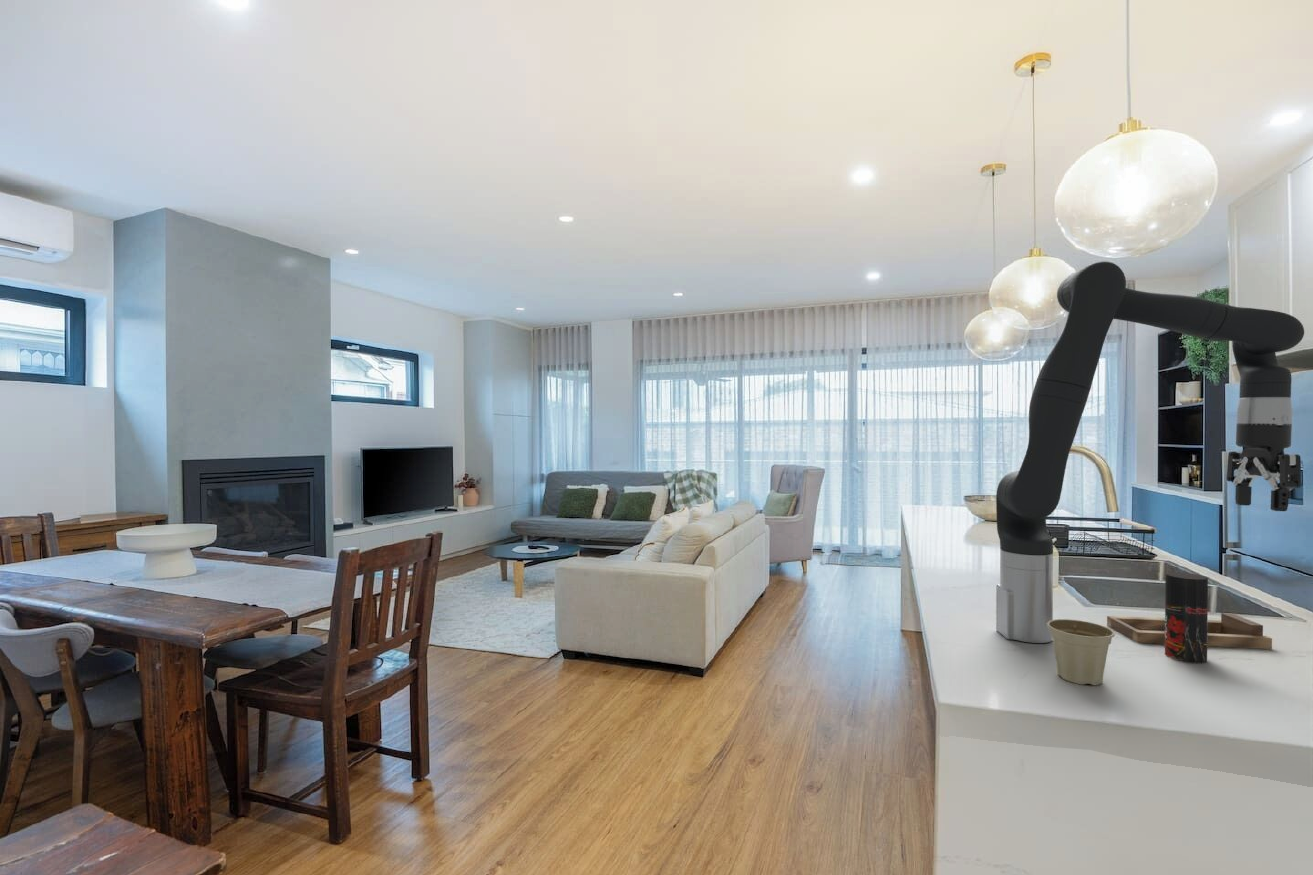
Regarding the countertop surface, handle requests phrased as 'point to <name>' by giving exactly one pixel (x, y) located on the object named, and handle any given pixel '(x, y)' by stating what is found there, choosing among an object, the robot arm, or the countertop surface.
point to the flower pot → (1080, 649)
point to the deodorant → (1186, 616)
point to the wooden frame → (1231, 625)
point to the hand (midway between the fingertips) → (1260, 507)
